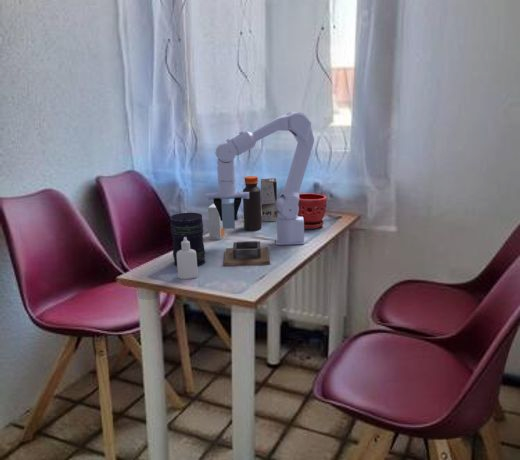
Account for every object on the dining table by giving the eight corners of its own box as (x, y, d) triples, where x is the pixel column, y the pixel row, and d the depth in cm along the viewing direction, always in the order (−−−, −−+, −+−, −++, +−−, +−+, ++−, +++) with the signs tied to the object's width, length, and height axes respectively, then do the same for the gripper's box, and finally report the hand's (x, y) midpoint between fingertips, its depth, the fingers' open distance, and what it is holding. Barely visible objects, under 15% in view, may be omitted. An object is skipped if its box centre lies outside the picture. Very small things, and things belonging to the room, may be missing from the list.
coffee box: (277, 221, 193) (276, 182, 188) (261, 221, 193) (260, 182, 188) (277, 215, 202) (276, 177, 197) (261, 216, 202) (260, 178, 197)
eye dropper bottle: (183, 273, 140) (180, 234, 137) (200, 275, 139) (197, 235, 135) (175, 278, 137) (172, 238, 133) (193, 280, 135) (190, 240, 131)
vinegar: (263, 226, 186) (261, 175, 181) (260, 231, 180) (258, 178, 174) (246, 225, 188) (244, 175, 182) (242, 230, 181) (240, 178, 176)
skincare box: (220, 240, 171) (219, 207, 167) (209, 239, 172) (207, 207, 168) (225, 235, 177) (223, 203, 173) (214, 234, 177) (212, 203, 174)
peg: (235, 225, 164) (234, 202, 161) (234, 228, 160) (233, 205, 158) (223, 225, 164) (222, 202, 161) (222, 228, 160) (221, 205, 157)
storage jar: (177, 257, 154) (173, 212, 150) (207, 257, 154) (204, 212, 149) (170, 268, 144) (166, 221, 140) (203, 268, 144) (199, 220, 140)
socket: (268, 249, 159) (268, 238, 158) (270, 264, 145) (269, 251, 144) (226, 251, 159) (225, 239, 158) (224, 265, 145) (223, 253, 144)
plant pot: (320, 232, 177) (320, 200, 173) (287, 228, 182) (286, 198, 179) (330, 223, 188) (331, 193, 185) (299, 220, 193) (299, 191, 190)
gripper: (248, 177, 161) (250, 216, 165) (205, 178, 161) (208, 217, 165) (248, 181, 154) (250, 221, 158) (203, 182, 154) (206, 223, 158)
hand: (228, 219), depth 161 cm, fingers closed on peg, 4 cm apart
